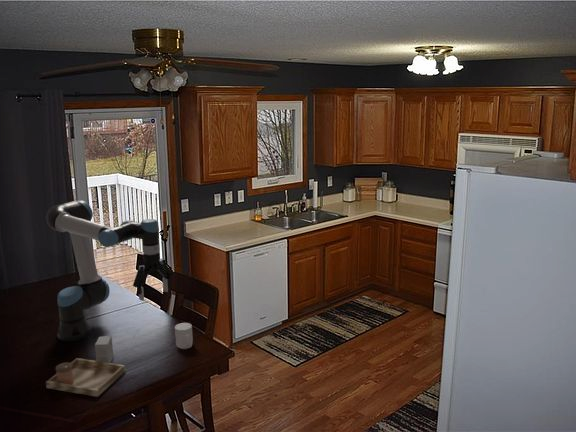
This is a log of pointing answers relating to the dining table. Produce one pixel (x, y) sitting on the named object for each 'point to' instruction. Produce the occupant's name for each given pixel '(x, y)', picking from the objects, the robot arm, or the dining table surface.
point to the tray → (89, 377)
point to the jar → (65, 373)
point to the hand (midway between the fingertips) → (153, 295)
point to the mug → (183, 335)
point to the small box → (104, 349)
